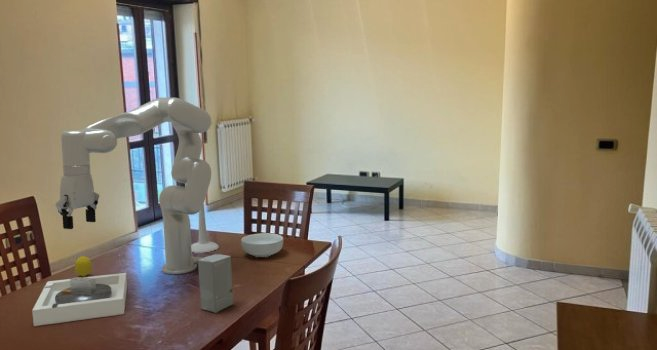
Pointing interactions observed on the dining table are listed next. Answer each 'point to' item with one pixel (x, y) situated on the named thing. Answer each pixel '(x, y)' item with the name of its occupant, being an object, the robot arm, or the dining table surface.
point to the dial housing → (57, 313)
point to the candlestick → (203, 237)
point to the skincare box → (215, 282)
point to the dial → (83, 291)
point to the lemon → (83, 266)
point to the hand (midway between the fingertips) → (79, 225)
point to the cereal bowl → (262, 244)
